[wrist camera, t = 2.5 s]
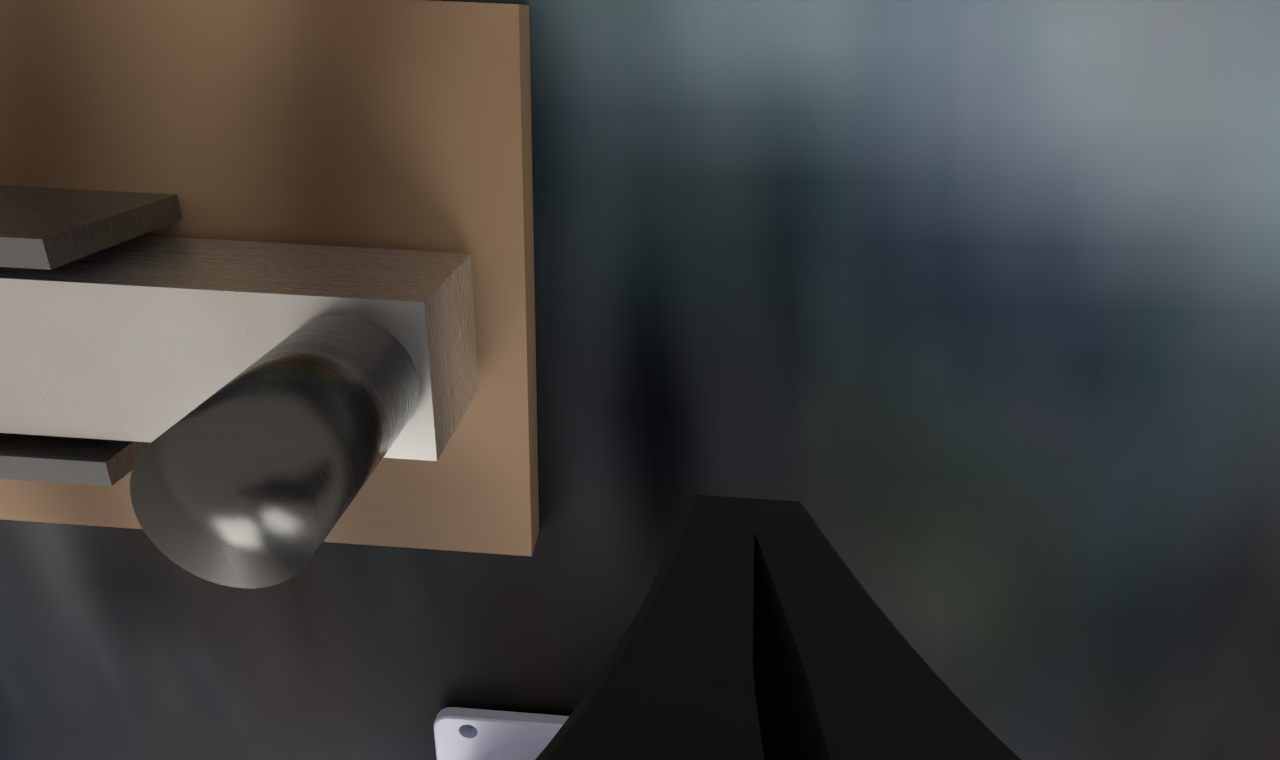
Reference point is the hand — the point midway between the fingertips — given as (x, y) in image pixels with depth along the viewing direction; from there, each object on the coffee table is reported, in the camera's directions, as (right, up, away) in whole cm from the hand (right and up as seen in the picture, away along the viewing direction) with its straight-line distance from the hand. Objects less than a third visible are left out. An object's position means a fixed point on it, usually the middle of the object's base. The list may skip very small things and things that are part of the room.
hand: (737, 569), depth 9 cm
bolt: (-10, +4, +7) cm, 13 cm away
